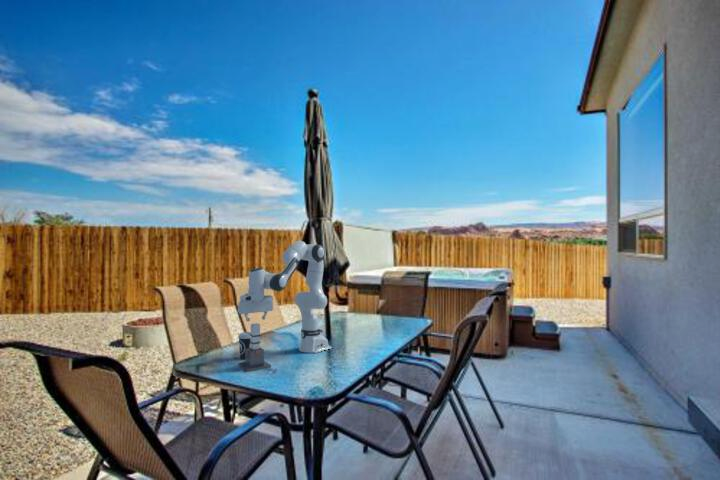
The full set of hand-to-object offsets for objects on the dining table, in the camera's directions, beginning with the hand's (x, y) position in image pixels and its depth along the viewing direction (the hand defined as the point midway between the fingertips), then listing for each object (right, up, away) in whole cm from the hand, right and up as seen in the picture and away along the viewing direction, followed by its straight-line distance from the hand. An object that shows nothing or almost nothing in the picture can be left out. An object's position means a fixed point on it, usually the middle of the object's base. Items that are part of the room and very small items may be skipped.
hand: (255, 320), depth 209 cm
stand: (-1, -26, -1) cm, 27 cm away
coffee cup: (-11, -27, +15) cm, 33 cm away
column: (0, -18, -1) cm, 18 cm away
